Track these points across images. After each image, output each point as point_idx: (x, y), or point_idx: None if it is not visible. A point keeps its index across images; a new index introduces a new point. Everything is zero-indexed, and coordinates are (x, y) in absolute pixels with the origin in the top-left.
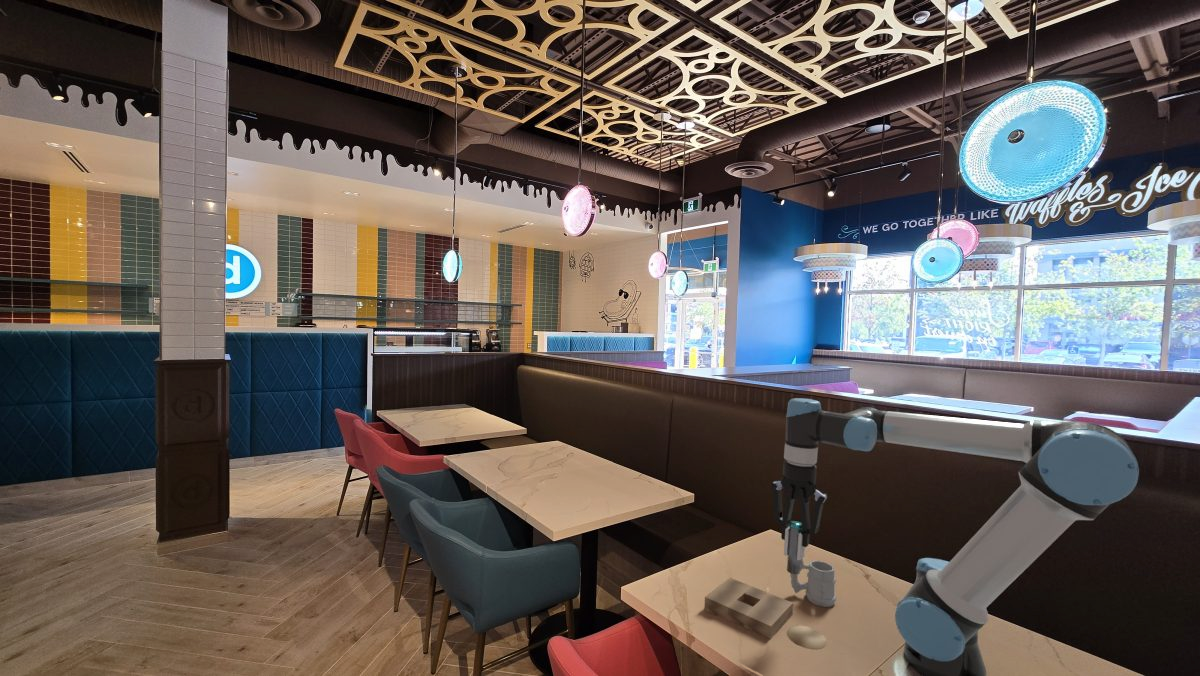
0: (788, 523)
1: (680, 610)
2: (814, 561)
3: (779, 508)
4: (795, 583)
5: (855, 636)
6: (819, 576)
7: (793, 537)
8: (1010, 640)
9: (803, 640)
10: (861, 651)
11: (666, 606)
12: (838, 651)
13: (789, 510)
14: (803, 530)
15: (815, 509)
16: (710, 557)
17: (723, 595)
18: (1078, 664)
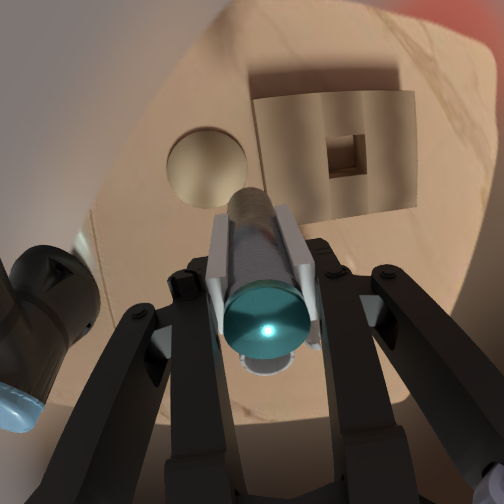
0: (321, 314)
1: (423, 56)
2: (289, 362)
3: (416, 346)
4: None
5: (157, 256)
6: None
7: (253, 250)
8: (70, 392)
9: (203, 153)
10: (126, 223)
11: (444, 51)
12: (147, 186)
13: (331, 369)
14: (196, 299)
15: (81, 452)
16: (464, 267)
17: (392, 127)
18: None
